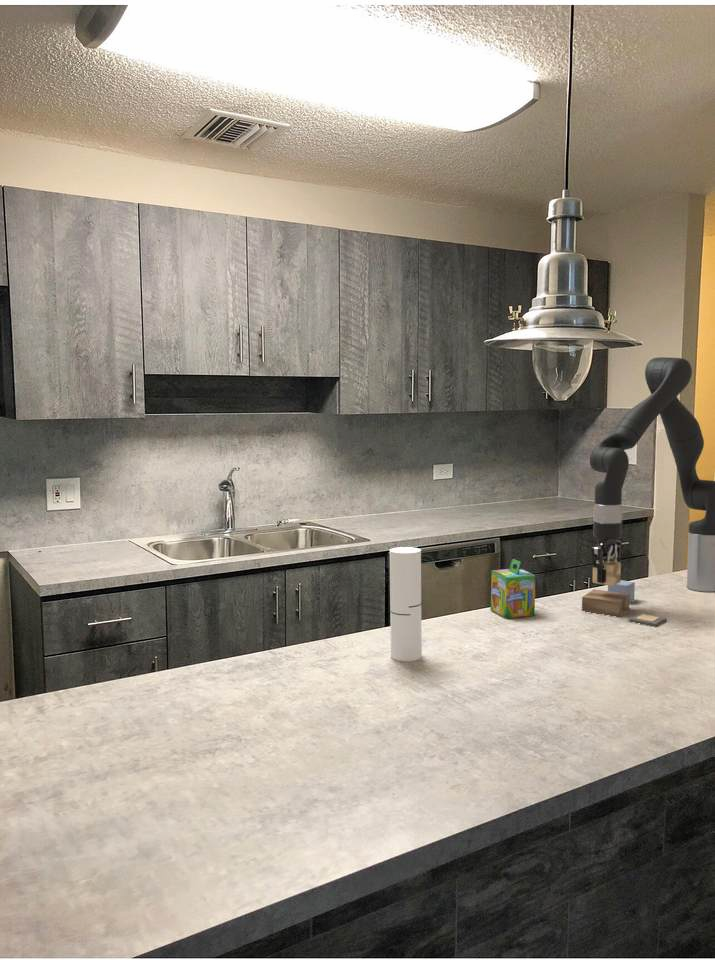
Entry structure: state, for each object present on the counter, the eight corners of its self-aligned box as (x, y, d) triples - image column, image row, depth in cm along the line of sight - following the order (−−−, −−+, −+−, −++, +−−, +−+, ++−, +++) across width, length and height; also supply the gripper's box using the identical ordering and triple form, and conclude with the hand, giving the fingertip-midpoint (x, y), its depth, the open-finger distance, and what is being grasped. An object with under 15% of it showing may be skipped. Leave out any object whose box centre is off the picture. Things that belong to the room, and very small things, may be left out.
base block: (593, 604, 219) (593, 589, 218) (629, 609, 213) (629, 594, 213) (581, 612, 211) (582, 597, 210) (618, 618, 205) (619, 602, 205)
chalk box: (489, 610, 213) (490, 558, 212) (519, 607, 216) (519, 556, 215) (505, 619, 205) (506, 565, 203) (536, 616, 207) (536, 562, 206)
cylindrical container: (427, 658, 175) (426, 551, 172) (398, 663, 172) (397, 554, 170) (413, 649, 182) (412, 546, 179) (385, 653, 179) (384, 548, 176)
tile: (640, 616, 206) (640, 612, 206) (666, 620, 201) (666, 617, 201) (628, 621, 201) (629, 618, 201) (655, 626, 196) (655, 623, 196)
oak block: (601, 579, 215) (601, 559, 214) (620, 582, 211) (620, 562, 211) (592, 582, 211) (592, 563, 210) (611, 585, 207) (611, 565, 207)
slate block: (616, 597, 225) (616, 579, 225) (634, 600, 221) (634, 582, 221) (607, 601, 221) (608, 582, 221) (626, 604, 217) (626, 585, 217)
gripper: (606, 515, 217) (605, 574, 219) (582, 522, 206) (581, 583, 208) (632, 518, 212) (630, 577, 214) (609, 524, 201) (607, 587, 203)
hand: (606, 580), depth 211 cm, fingers closed on oak block, 5 cm apart
